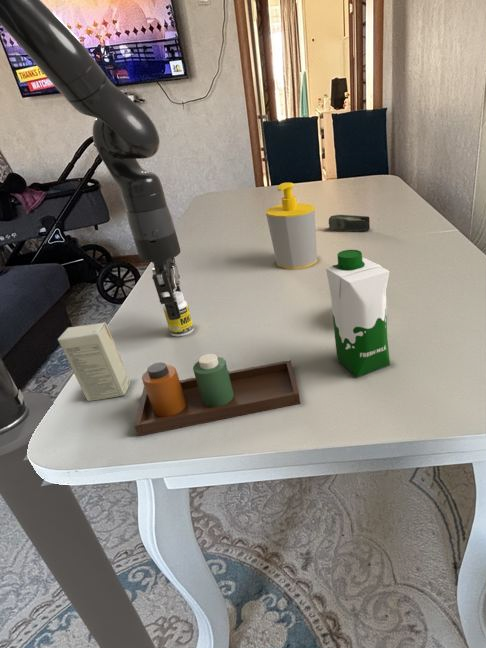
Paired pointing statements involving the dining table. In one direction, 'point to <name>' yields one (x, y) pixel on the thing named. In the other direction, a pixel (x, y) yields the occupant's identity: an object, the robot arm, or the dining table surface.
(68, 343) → the cosmetic box
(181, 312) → the supplement bottle
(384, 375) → the dining table surface
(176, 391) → the amber bottle
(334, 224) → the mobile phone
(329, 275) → the milk carton
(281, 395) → the tray
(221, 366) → the green bottle
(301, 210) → the soap bottle
